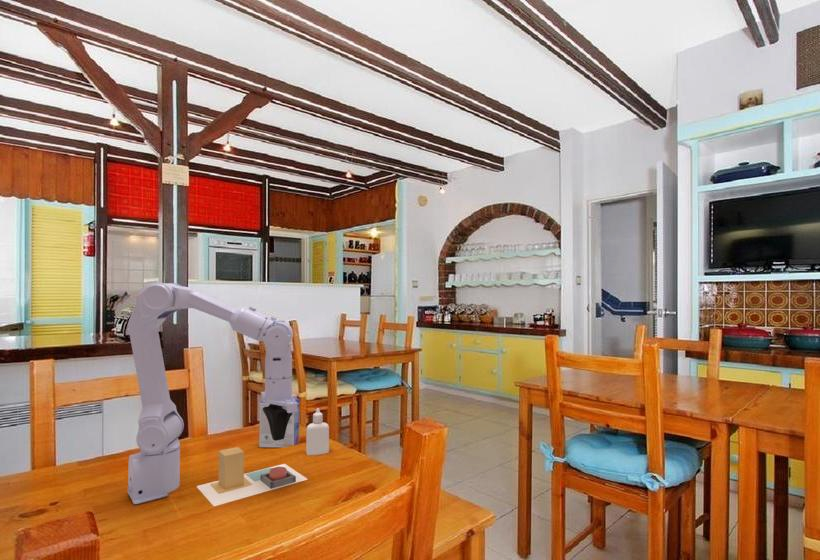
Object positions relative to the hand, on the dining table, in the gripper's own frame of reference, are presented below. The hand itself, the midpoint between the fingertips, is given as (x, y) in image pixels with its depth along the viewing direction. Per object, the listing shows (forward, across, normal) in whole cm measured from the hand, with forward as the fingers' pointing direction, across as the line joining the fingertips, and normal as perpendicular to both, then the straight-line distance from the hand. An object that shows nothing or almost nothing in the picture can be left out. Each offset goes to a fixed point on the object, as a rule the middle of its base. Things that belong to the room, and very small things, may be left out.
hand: (278, 439), depth 102 cm
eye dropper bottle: (+10, +11, -16) cm, 21 cm away
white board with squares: (+10, +3, +4) cm, 11 cm away
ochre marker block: (+9, +5, +8) cm, 13 cm away
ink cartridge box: (+10, +25, -12) cm, 29 cm away
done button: (+9, 0, 0) cm, 9 cm away
